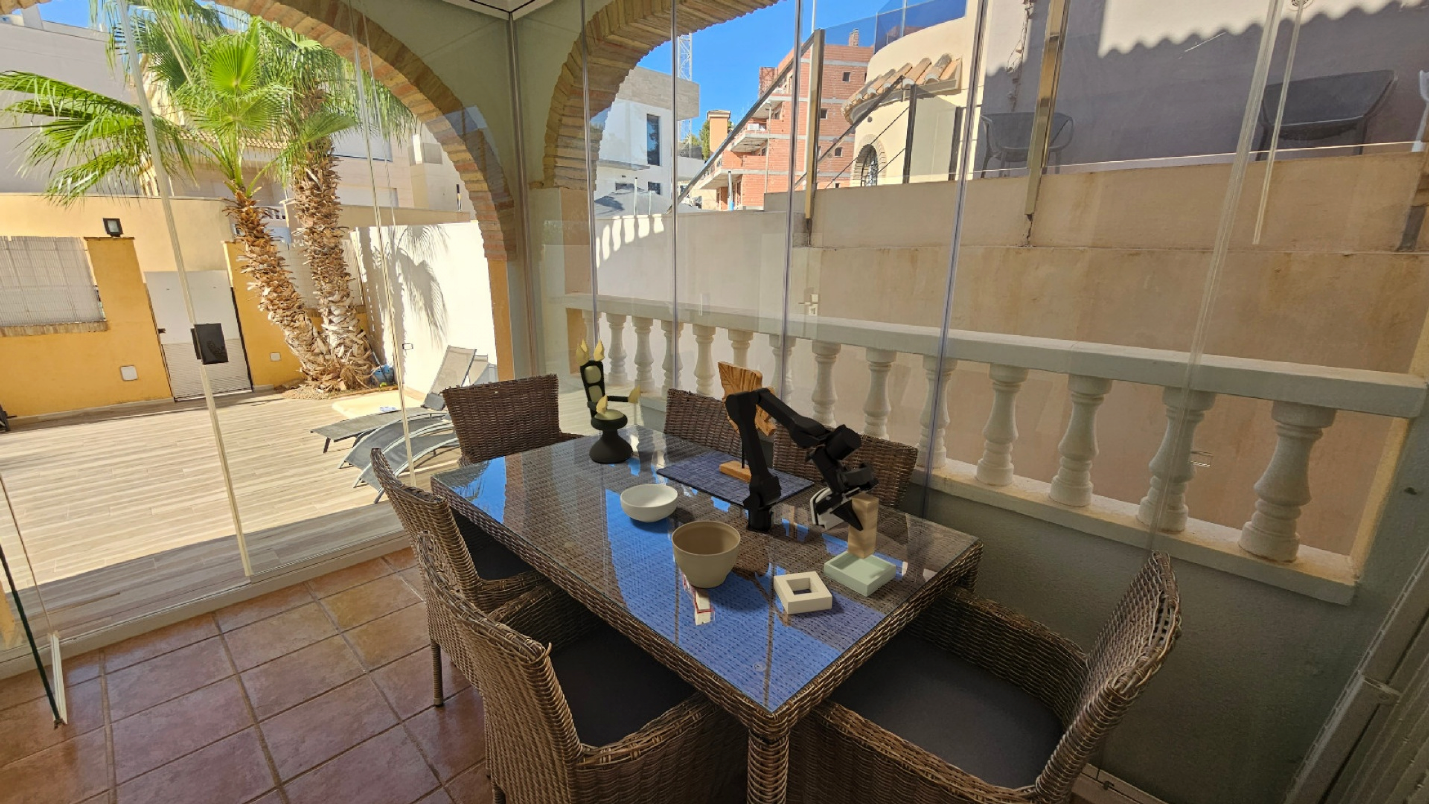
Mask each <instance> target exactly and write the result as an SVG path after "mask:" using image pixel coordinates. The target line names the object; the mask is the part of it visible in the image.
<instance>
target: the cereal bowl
mask: <svg viewBox="0 0 1429 804" xmlns="http://www.w3.org/2000/svg"><path fill="white" fill-rule="evenodd" d="M619 498H620V506H621V509H622V511H623V512H624V514H626V516H628V517H630V518H631V519H634V520H636V521H639V522H643V523H654V522H659V521H660V520H662V519H665V518H667V517H669V516H670V515H672V514H673V513H674V512H675V510H676V509H677V506H678V502H679V494H678V491H677V489H675V488H674V487H672V486H669V485H665V484H660V483H647V484H640V485H635V486H632V487H628V488H627V489H625V490H624V491H622V493H621V494H620V497H619Z"/></svg>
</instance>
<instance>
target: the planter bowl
mask: <svg viewBox="0 0 1429 804" xmlns="http://www.w3.org/2000/svg"><path fill="white" fill-rule="evenodd" d="M671 544H672V551H673V556H674V558H675V559H674V560H675V561H676V564H677V566H678V568H679V569H680V571H681V572H682V574H683V575H684V576H685V579H686V580H687V582H688V583H689V584H690V585H691V586H694V587H697V588H703V589H709V588H711V589H712V588H715V587H719V586H720V585H721V584H723V583H724V582H725V580H726V577H727V576H728V574H729V573H730V572H731V571H732V570H733V567H734V566H735V564H736V561H737V560H738V555H739V550H740V544H741V534H740V533H739V531H738V530H737V529H736V528H734V527H733V526H731V525H729V524H727V523H724V522H722V521H717V520H716V521H714V520H698V521H697V520H696V521H691V522H688V523H685V524H683V525H680V526H679V527H677V528H676V529H675V530H674V531H673V532H672V535H671Z"/></svg>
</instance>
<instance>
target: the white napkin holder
mask: <svg viewBox="0 0 1429 804" xmlns="http://www.w3.org/2000/svg"><path fill="white" fill-rule="evenodd" d="M849 492H850V491H849ZM831 493H832V492H831V490H830V489H829V487H828V486H827V487H825V488H822V489H820V490H819V491H818V492H816V493H815V494H814V495H813V496H812V497H811V498H810V499H809V505H810V506H809V507H810V513H811V519H812V520H811V521H812V524H813V525H817V524H818V525H819V526H820V525H823V526H824V529H825V530H829V529H831V528H833V527H835V526H838V525H839V524H841V523H843V522H845V521H844V520H842V519H840V518H839V517H837V516H835V515H834V514H830V512H831V511H833V510H832V508H830V509H829V510H828V512H826V513H824V514H822V515H820V516H819V515H818V513H817V512H816V510H815V503H817V502H818V501H820V500H821V499H823V498H824V497H825V496H827V495H829V494H831ZM842 495H843V494H842ZM847 500H848V501H849V500H851V497H850V498H848V499H847Z"/></svg>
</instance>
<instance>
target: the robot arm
mask: <svg viewBox="0 0 1429 804" xmlns="http://www.w3.org/2000/svg"><path fill="white" fill-rule="evenodd" d="M757 406H758V407H759V408H760V409H762V410H763V411H764V412H765V413H766V414H768V415H769V416H770V417H771V418H773V419H774V420H775V421H776V422H777V423H778V424H780V425H781V426H783V428H785V429H786V430H787V432H788V434H789V438H790V439H791V440H792V441H793V443H794V444H795V445H796V446H798V447H799V449H801V450H807V451H806V452H805V453H806V454H805V458H804V463H806V464H807V463H810V462H813V464H814V465H815V467H816V469H817V471H818V472H819V474H820V476H821V477H822V479H820V482H821V484H822V485H824V484H826V485H827V487H829V489H830V490H831V492H832V493H831V494H829V495H827V496H825V497H824V498H823V499H821V500H820V501H818V502H817V503H815V510H816V512H817V513H818V515H819V516H820V515H822V514H824V513H826V512H828V510H829V509H830V508H832V510H833V511H831V512H830V514H834V515H835V516H837V517H839V518H840V519H842V520H844V521H843V522H845V523H847V524H848V525H849V524H850V525H851V526H853V527H854V528H855V529H857V530H858V531H862V530H863V527H862V525H861V523H860V521H859V519H858V517H857V515H856V514H855V512H854V510H853V508H852V499H851V500H849V501H848V500H847V499H848V498H850V497H853V496H855V495H857V494H859V493H861V492H863V493H866V494H869V495H872V493H873V492H874V488H876V487H878V485H880V484H881V483H880V481H879V480H878V478H877V477H876V476H874V473H875V469H874V467H873V466H872V465H871V463H870V462H869V461H863V462H861V463H859V464H858V467H857V468H856V467H855V468H854V469H852V468H851V467H850V465H848V464H845V465H844V464H843V463H842V461H844V460H846V459H847V458H848V457H850V456H851V455H853V454H854V453H855V452H856V451H858V450H859V449H860V448H861V447H862V444H863V442H862V438H861V436H860V434H859V433H858V432H856V431H855V430H854V429H852V428H849V427H847V425H846V424H845V423H842V424H840V425H838V426H837V427H836V428H835V429H834V430H831V429H829V428H826V427H825V426H824V424H822V423H821V422H819V421H817V419H814V418H812V417H808V416H804V415H801V414H800V413H798V412H797V411H795V410H794V408H792V407H790V406H789V405H788V404H787V403H785V402H784V401H783V400H781V399H780V398H779V397H777V396H776V395H775V394H773V393H772V392H771V390H770V388H767V387H759V388H755V389H753V390H751V391H749V390H744V391H740V392H735V393H729V394H728V395H727V396H726V398H725V401H724V407H725V410H726V413H727V415H728V417H729V419H730V420H731V421H732V422H733V423H734V424H735V425H736V427H737V429H738V433H739V437H740V440H741V444H742V447H743V450H744V453H745V458H746V462H747V466H748V469H749V472H750V480H749V483H748V491H749V495H748V496H746V498H745V499H743V500H742V506H743V509H745V510H747V525H746V526H745V529H746V530H749V531H753V532H759V533H763V534H768V533H769V532H770V530H771V529H772V528H773V527H774V526H775V525H774V524H775V511H773V507H774V506H777V504H778V501H779V500H780V499H781V497H782V490H783V488H782V486H781V484H780V483H781V482H780V478H779V477H778V475H775V476H774V475H773V474H772V473H771V472H770V471H769V468H768V465H767V460H766V458H765V454H764V450H763V447H762V443H761V439H760V436H759V433H758V429H757V425H756V418H757V417H756V416H757V412H758V407H757ZM815 447H816V448H815ZM811 448H815V449H811ZM808 449H810V450H808ZM849 491H850V492H849ZM842 494H843V495H842Z"/></svg>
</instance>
